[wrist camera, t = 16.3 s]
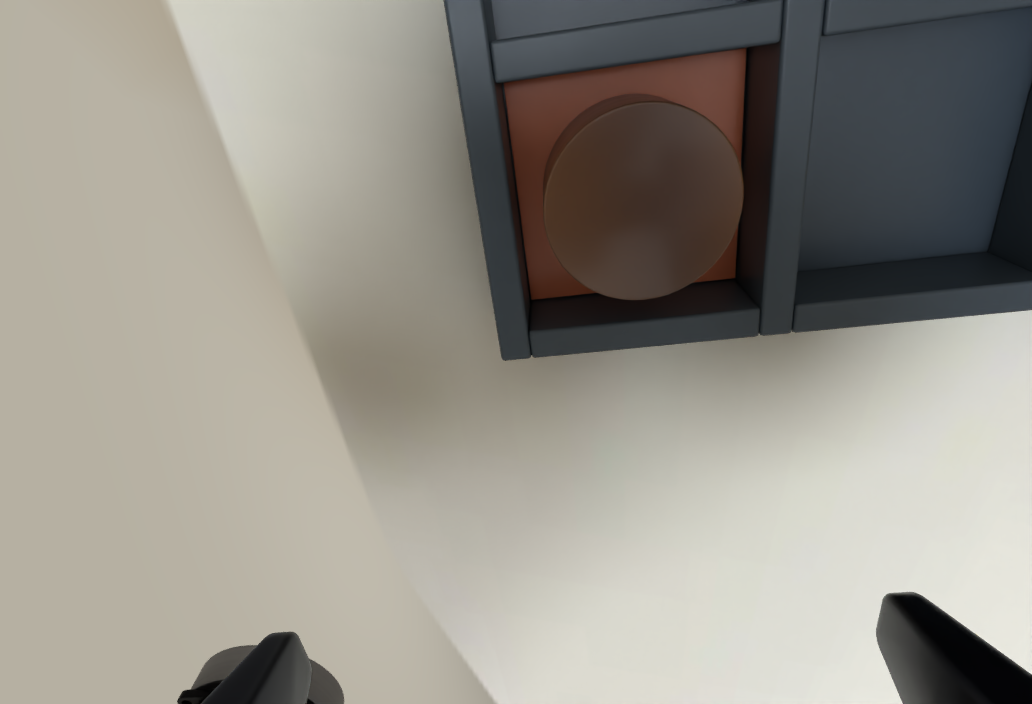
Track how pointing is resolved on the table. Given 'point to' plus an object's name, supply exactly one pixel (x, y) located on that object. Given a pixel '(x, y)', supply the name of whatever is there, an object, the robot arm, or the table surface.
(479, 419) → the table surface
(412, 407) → the table surface
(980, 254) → the grid
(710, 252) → the cylinder
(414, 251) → the table surface
